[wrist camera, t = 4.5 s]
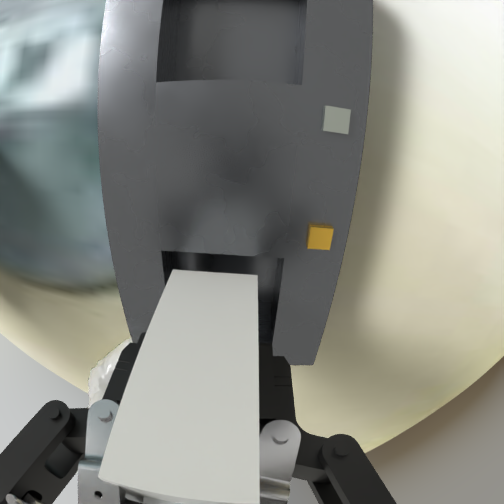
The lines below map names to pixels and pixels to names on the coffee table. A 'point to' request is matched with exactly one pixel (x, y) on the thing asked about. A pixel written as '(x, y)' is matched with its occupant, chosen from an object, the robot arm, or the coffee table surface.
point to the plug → (192, 398)
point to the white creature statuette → (104, 373)
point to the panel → (234, 150)
